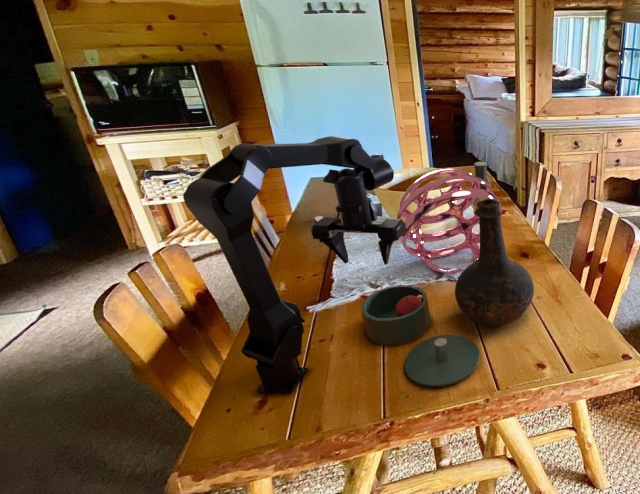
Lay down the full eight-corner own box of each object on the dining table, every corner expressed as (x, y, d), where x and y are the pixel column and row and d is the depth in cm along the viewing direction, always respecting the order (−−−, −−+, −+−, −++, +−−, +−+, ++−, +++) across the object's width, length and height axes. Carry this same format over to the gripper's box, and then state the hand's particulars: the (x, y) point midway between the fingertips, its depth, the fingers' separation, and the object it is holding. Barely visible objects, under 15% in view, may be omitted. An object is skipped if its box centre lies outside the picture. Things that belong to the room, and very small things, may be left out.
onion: (405, 334, 95) (426, 309, 93) (384, 318, 95) (404, 292, 93) (415, 323, 101) (435, 299, 99) (395, 307, 100) (415, 283, 98)
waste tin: (419, 347, 92) (415, 321, 89) (356, 344, 93) (350, 319, 90) (437, 309, 104) (434, 285, 101) (381, 307, 105) (376, 284, 102)
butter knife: (322, 215, 154) (313, 217, 152) (338, 239, 136) (328, 242, 135) (323, 216, 154) (313, 218, 152) (338, 241, 136) (328, 243, 135)
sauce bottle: (471, 217, 153) (467, 161, 144) (489, 214, 155) (485, 159, 146) (477, 224, 147) (473, 166, 138) (495, 221, 150) (492, 164, 141)
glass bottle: (520, 286, 113) (516, 182, 100) (546, 326, 98) (546, 210, 85) (450, 301, 107) (438, 192, 94) (467, 346, 92) (454, 224, 79)
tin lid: (471, 391, 81) (469, 370, 79) (394, 387, 82) (390, 366, 80) (485, 339, 94) (484, 320, 92) (418, 337, 95) (415, 318, 93)
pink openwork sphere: (518, 217, 103) (475, 133, 114) (403, 263, 98) (369, 171, 108) (520, 263, 129) (484, 192, 139) (429, 303, 123) (399, 225, 133)
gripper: (409, 185, 98) (418, 247, 105) (328, 184, 99) (343, 245, 106) (390, 204, 88) (402, 271, 95) (301, 202, 89) (319, 268, 96)
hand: (366, 263), depth 98 cm, fingers open, 9 cm apart
